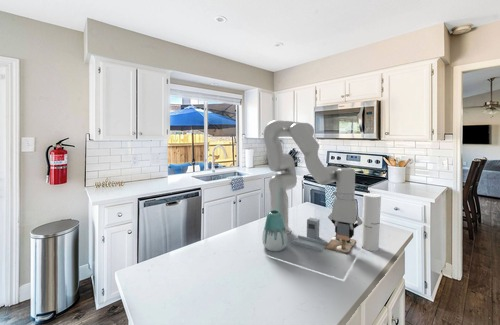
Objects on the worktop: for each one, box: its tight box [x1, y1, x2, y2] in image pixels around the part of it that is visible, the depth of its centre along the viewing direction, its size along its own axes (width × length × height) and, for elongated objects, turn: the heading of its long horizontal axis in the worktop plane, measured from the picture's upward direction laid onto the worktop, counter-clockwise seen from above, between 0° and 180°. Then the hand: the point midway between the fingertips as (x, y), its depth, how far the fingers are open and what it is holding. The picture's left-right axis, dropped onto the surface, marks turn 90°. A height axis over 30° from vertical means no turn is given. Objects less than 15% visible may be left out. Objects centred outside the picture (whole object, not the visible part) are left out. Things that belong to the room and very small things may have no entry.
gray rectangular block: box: [306, 217, 320, 240], centre depth 124 cm, size 5×4×10 cm
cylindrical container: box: [360, 192, 382, 252], centre depth 113 cm, size 7×7×25 cm
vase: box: [261, 209, 288, 252], centre depth 113 cm, size 12×12×18 cm
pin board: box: [324, 234, 357, 255], centre depth 116 cm, size 11×16×6 cm
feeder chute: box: [291, 234, 328, 252], centre depth 117 cm, size 14×8×2 cm, turn 54°
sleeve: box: [337, 222, 351, 241], centre depth 109 cm, size 5×5×7 cm
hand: (344, 235), depth 110 cm, fingers closed on sleeve, 5 cm apart
